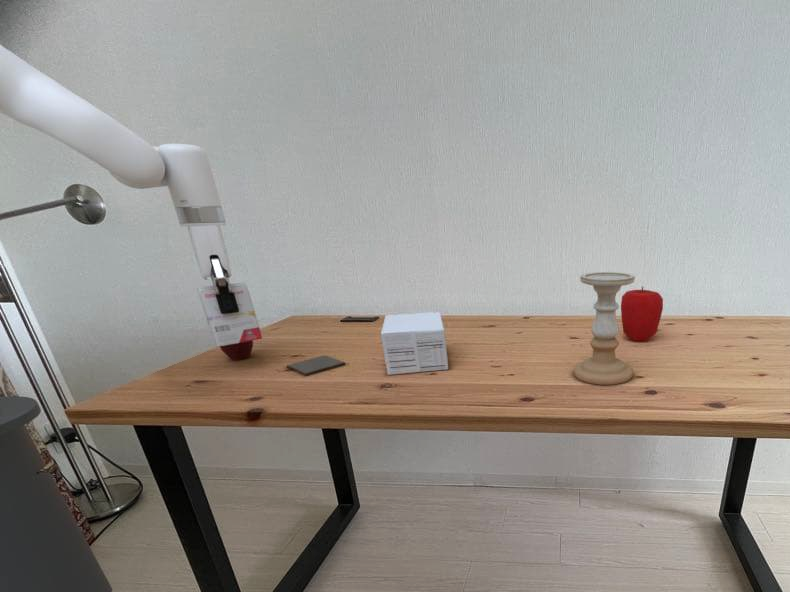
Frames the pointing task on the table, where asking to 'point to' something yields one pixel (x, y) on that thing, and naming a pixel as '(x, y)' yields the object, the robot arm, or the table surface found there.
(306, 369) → the coaster
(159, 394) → the table surface
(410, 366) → the supplement box
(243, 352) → the mug
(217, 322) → the ink box
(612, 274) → the candle holder
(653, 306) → the apple
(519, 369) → the table surface
